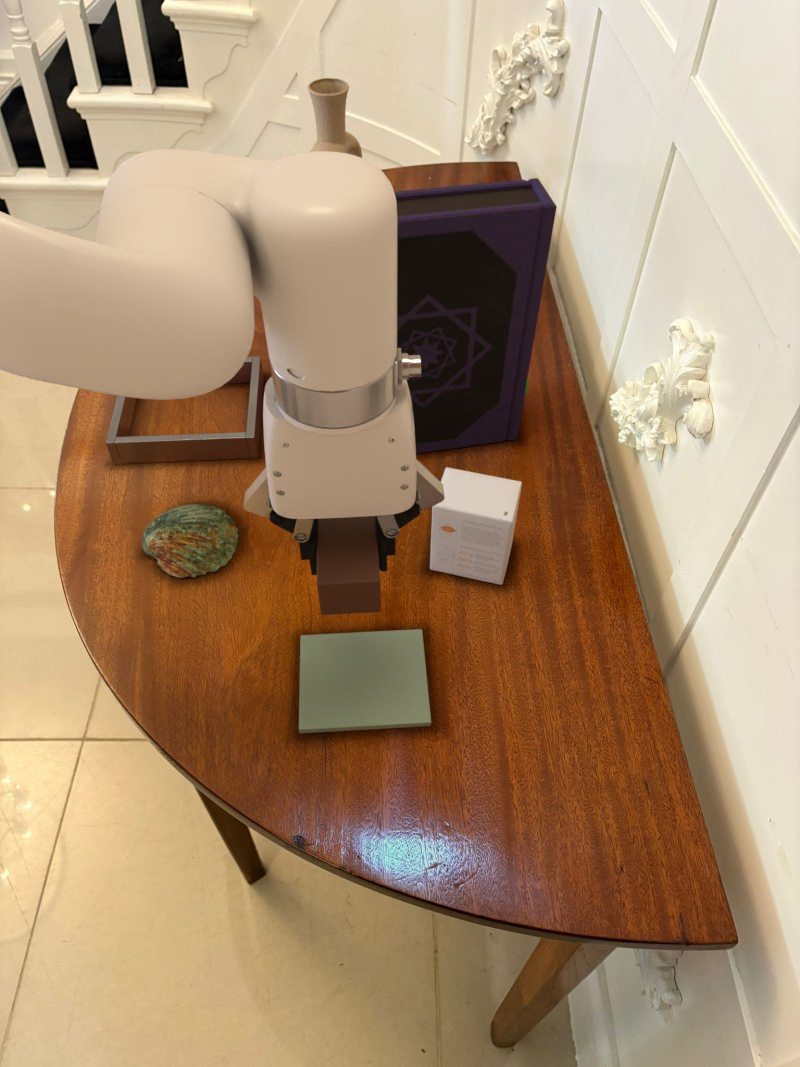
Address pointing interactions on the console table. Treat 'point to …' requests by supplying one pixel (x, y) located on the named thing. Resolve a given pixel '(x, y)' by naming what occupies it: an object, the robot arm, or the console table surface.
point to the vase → (332, 117)
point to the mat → (363, 681)
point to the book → (470, 305)
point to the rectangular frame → (190, 444)
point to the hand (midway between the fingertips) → (348, 557)
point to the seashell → (191, 540)
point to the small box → (474, 525)
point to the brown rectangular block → (348, 565)
